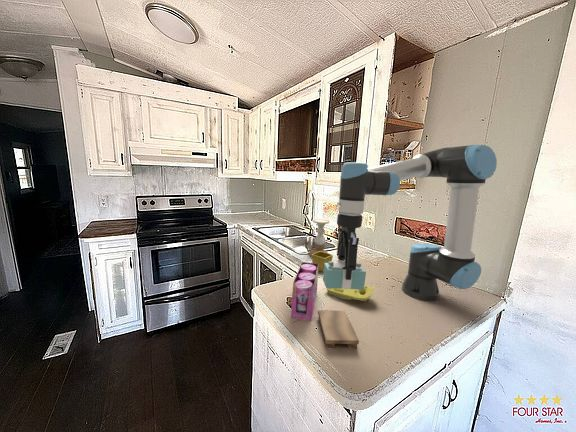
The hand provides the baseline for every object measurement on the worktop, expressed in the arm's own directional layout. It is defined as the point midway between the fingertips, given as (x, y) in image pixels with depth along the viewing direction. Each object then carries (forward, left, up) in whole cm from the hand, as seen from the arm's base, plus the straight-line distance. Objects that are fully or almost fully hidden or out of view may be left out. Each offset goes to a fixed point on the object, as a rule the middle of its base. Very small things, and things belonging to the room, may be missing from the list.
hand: (343, 283), depth 77 cm
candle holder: (-5, -74, -18) cm, 76 cm away
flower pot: (-3, -53, -18) cm, 56 cm away
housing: (0, 0, 0) cm, 1 cm away
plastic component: (-10, -24, -18) cm, 32 cm away
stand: (+1, 0, -18) cm, 18 cm away
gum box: (+10, -18, -18) cm, 27 cm away
